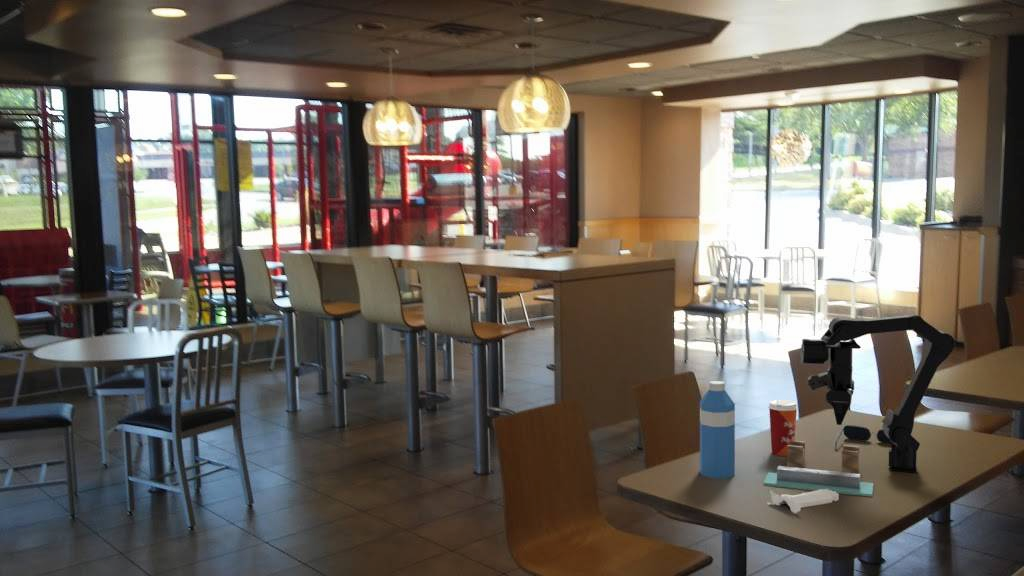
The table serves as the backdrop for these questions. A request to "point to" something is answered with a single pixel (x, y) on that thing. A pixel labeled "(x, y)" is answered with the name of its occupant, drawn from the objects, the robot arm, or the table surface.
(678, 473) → the table surface
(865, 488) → the mat
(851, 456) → the stand
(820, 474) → the rail
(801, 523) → the table surface
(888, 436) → the robot arm
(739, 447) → the table surface
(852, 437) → the sunglasses
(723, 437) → the water bottle
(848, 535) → the table surface
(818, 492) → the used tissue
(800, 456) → the stand
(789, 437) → the coffee cup
